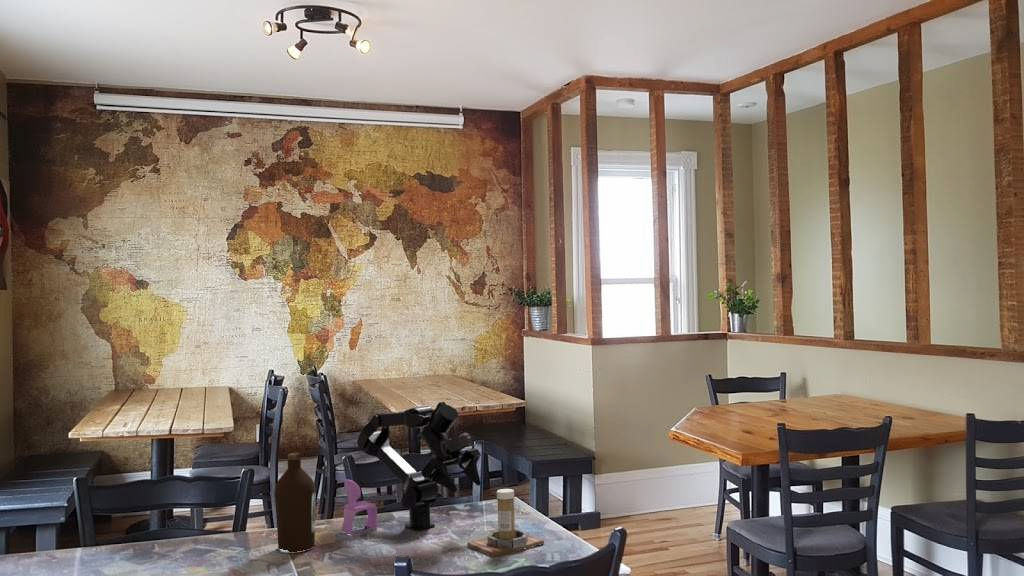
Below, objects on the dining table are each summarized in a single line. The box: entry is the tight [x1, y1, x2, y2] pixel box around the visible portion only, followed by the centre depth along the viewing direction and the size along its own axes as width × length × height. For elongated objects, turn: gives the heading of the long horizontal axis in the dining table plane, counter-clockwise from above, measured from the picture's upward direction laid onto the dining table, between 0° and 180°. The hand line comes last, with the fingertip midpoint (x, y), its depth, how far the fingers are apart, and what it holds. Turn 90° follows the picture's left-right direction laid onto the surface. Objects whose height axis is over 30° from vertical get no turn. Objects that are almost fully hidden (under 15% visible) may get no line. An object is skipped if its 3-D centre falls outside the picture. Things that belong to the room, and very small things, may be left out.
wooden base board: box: [466, 534, 545, 558], centre depth 221 cm, size 12×16×1 cm
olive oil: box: [273, 452, 317, 552], centre depth 225 cm, size 11×11×25 cm
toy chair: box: [340, 478, 378, 536], centre depth 239 cm, size 8×9×15 cm
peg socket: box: [486, 528, 529, 548], centre depth 221 cm, size 10×10×2 cm
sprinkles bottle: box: [496, 488, 516, 539], centre depth 221 cm, size 5×5×13 cm
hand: (468, 488), depth 229 cm, fingers open, 9 cm apart
